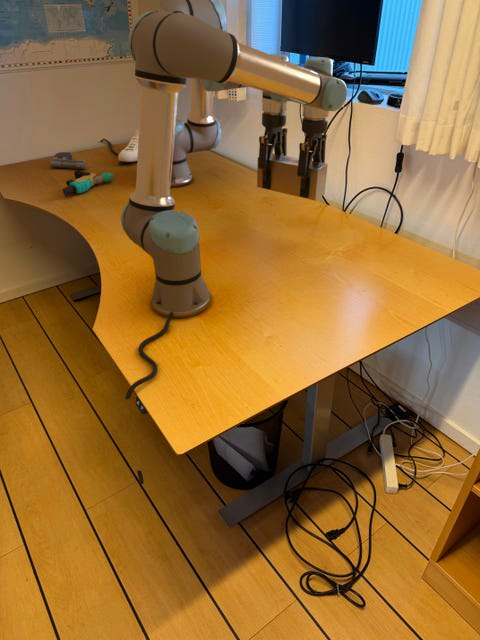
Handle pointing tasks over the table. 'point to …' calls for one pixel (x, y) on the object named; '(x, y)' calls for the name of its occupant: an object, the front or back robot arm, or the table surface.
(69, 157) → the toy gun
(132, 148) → the sneaker
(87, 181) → the toy gun
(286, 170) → the box
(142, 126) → the front robot arm
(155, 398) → the table surface
